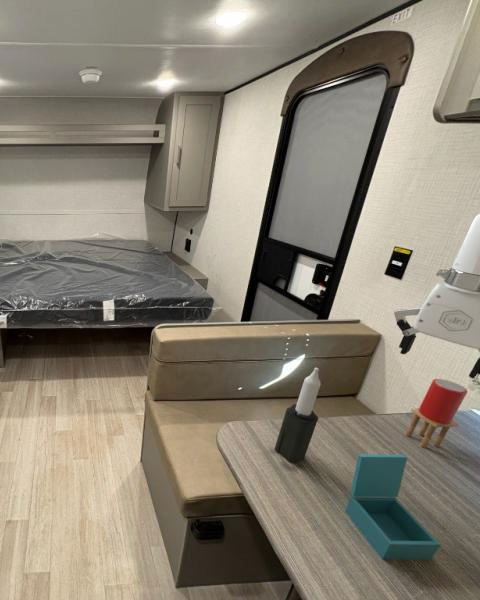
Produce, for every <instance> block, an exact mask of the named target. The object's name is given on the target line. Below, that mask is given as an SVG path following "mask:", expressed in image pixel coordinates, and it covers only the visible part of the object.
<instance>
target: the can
mask: <svg viewBox="0 0 480 600" xmlns="http://www.w3.org/2000/svg"><path fill="white" fill-rule="evenodd" d="M426 391H427V392H426V393H425V396H424V398H423V399H422V401H421V403H420V405H419V407H418V408H419V412H420V414H422V415H423V416H424V417H426V418H428V419H430V420H432V421H435V422H438V423H443V424H449V423H451V421H452V420H454V417H455V416H456V414H457V412H458V410H459V409H460V407H461V405H462V403H463V401H464V399H465V397H466V396H467V394H468V390H467V389H466V387H464V386H462V385H461V384H459V383H457V382H454V381H451V380H448V379H443V378H434V379H433V380H432V381H431V383H430V385H429V387H428V389H427V390H426Z"/></svg>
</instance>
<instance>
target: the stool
mask: <svg viewBox="0 0 480 600" xmlns="http://www.w3.org/2000/svg"><path fill="white" fill-rule="evenodd" d="M410 412H412V413H413V414H415V415H414V416H413V419H412V421H411V422H410V424H409V426H408V429H407V430H406V433H405V436H406V437H408V438H411V437H412V435H413V434H414V431H415V429H416V427H417V425H418V423H419V422H420V420H421V419H422V420H424V422H423V424H422V426H421V427H420V429H419V431H418V436H421V437H423V439H422V440H421V443H420V445H419V446H420V448H423V449H426V448H427V446H428V444H429V442H430V441H431V439H432V437H433V435H434V433H435V431H436V429H438V428H441V429H440V431H439V433H438V435H437V437H436V438H435V440H434V442H433V446H434V447H436V448H440V446H441V445H442V442H443V441H444V439H445V437H446V436H447V433H448V431H450V428H454V427H459V425H460V423H458V422H457V421H455V420H454V419H452V421H451V423H449V424H443V423H438V422H435V421H432V420H430V419H428V418H426V417H424V416H423V415H422V414H420V412H419V407H417V408H411V410H410Z"/></svg>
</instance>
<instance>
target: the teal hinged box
mask: <svg viewBox="0 0 480 600" xmlns="http://www.w3.org/2000/svg"><path fill="white" fill-rule="evenodd" d="M344 512H345V514H346V515H347V516H348V517H349V518H350V520H351V521H352V522H353V524H354V525H355V526H356V528H357V529H358V530H359V531H360V532H361V534H362V535H363V536H364V537H365V539H366V540H367V541H368V543H369V544H370V545H371V546H372V548H373V549H374V551H375V552H376V553H377V554H378V556H379V557H380V558H381V559H382V560H432V559H433V557H434V556H435V554H436V552H438V549H439V548H440V546H441V543H440V542H439V541H438V540H437V539H436V538H435V537H434V536H433V535H432V534H431V533H430V532H429V531H428V530H427V529H426V528H425V527H424V526H423V525H422V524H421V523H420V522H419V521H418V519H416V517H415V516H414V515H412V513H411V512H410V511H409V510H408V509H407V508H406V507H405V506H404V505H403V504H402V503H401V502H400V501H399V500H398V499H397V497H353V496H351V497H350V499H349V501H348V503H347V505H346V508H345V510H344Z"/></svg>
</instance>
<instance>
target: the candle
mask: <svg viewBox="0 0 480 600" xmlns="http://www.w3.org/2000/svg"><path fill="white" fill-rule="evenodd" d="M319 371H320V369H319V368H318V367H314V369H313V371H312V372H311V373H310V375H308V376H306V377H305V378H304V379H303V380H304V381H303V383H302V386H301V389H300V392H299V395H298V399H297V402H296V404H295V403H294V404H292V405H291V406H289V407H288V408H286V410H285V413H284V416H283V419H282V422H281V425H280V430H279V433H278V436H277V439H276V443H275V447H274V451H275V452H276V453H278V454H279V455H280V456H281V457H282V458H284V459H285V460H286V461H287V462H288V463H290V464H293V465H295V464H297V463H299V462H301V461H303V460H305V457H306V454H307V452H308V449H309V446H310V443H311V441H312V437H313V434H314V432H315V429H316V426H317V423H318V420H319V416H318V415H317V414H316V413H315V412H314V410H313V408H314V407H315V402H316V400H317V397H318V393H319V392H320V391H319V390H320V387H321V380H320V378H319Z"/></svg>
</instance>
